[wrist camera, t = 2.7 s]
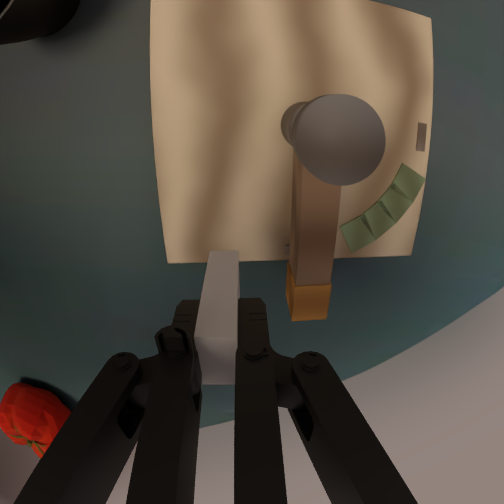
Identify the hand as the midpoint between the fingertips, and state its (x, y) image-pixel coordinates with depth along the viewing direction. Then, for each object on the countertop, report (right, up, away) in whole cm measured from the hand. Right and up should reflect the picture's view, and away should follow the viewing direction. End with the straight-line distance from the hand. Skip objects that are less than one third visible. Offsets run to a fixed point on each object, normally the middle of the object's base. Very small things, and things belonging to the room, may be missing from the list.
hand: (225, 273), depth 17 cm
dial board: (+5, +11, +5) cm, 13 cm away
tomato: (-32, -23, +21) cm, 45 cm away
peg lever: (+5, +5, +6) cm, 10 cm away
